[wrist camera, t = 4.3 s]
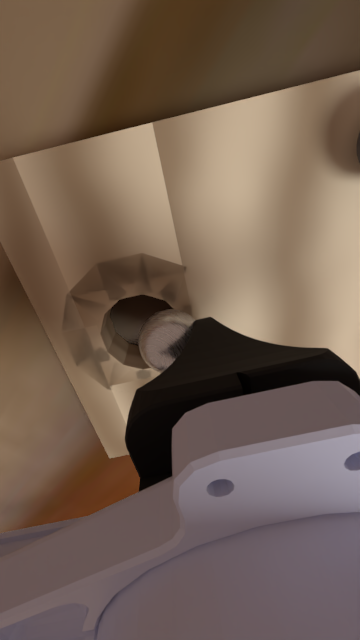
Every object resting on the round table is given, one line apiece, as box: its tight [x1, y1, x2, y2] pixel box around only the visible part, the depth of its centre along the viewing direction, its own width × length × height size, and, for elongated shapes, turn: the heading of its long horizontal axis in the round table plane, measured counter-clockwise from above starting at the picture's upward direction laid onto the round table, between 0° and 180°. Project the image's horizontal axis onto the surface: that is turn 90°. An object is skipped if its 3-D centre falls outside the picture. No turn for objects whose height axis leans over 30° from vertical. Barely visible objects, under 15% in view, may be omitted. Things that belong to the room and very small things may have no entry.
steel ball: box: [138, 309, 195, 373], centre depth 12 cm, size 3×3×3 cm
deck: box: [0, 70, 360, 458], centre depth 14 cm, size 20×18×2 cm
